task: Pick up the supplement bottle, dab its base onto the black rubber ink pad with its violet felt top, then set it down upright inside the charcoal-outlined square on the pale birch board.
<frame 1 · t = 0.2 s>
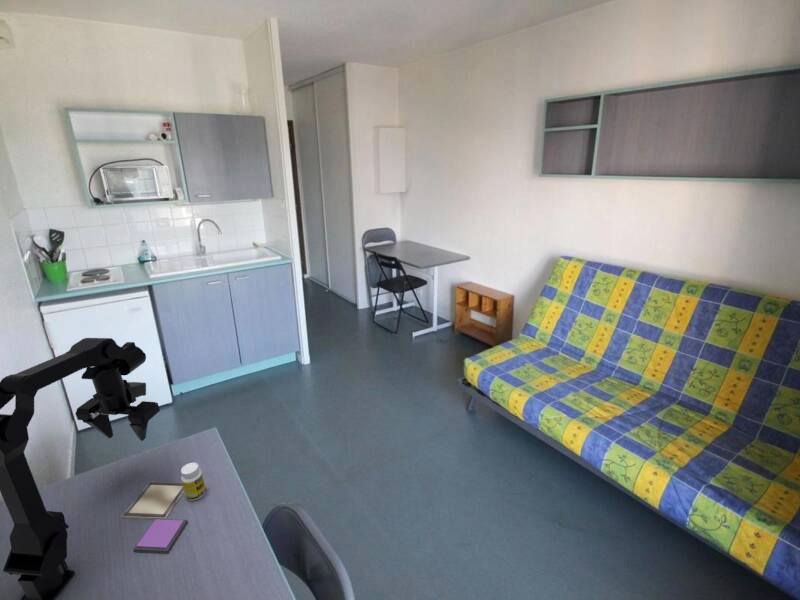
hand: (127, 438, 108), 14 cm above the table, fingers open, 9 cm apart
marked board: (157, 500, 107), on the table
ink pad: (161, 536, 97), on the table
supplement bottle: (196, 494, 109), on the table
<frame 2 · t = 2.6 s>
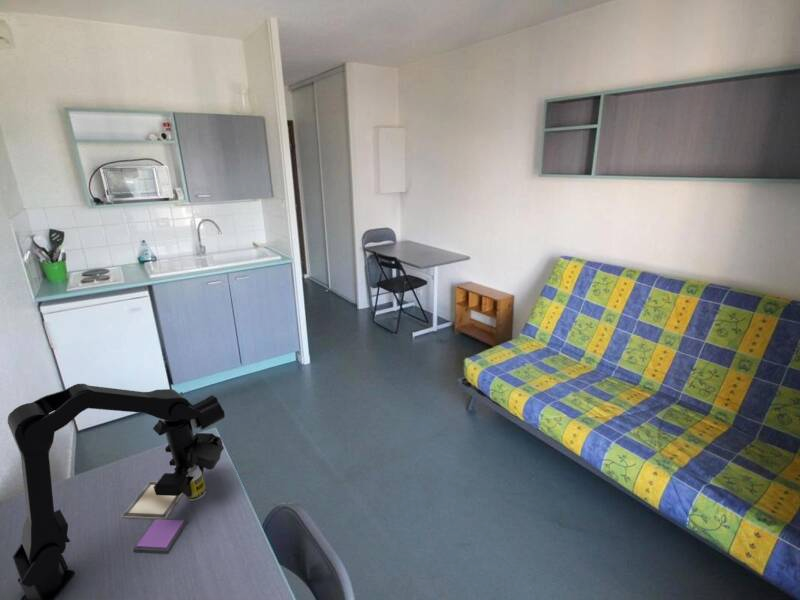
hand: (195, 488, 108), 2 cm above the table, fingers closed on supplement bottle, 5 cm apart
supplement bottle: (196, 494, 109), on the table, touching gripper
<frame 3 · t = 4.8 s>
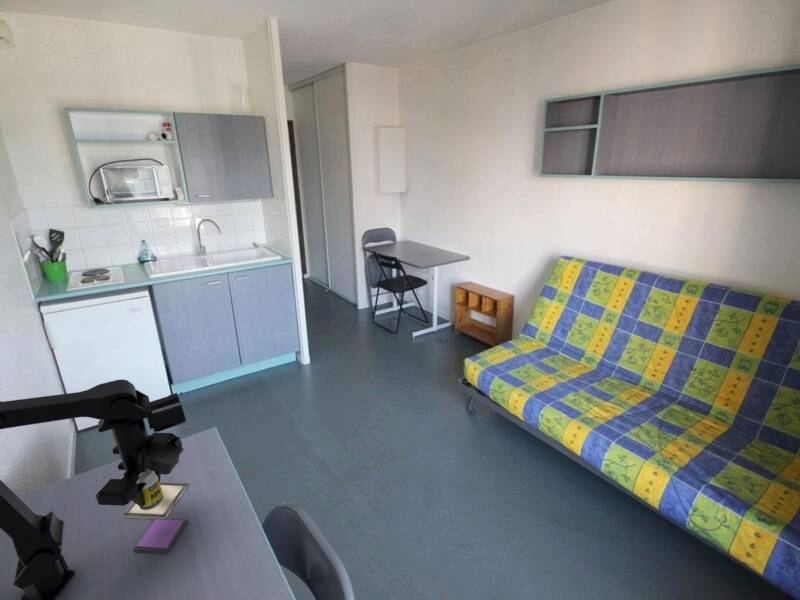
hand: (149, 496, 94), 12 cm above the table, fingers closed on supplement bottle, 5 cm apart
supplement bottle: (152, 503, 94), point 10 cm above the table, touching gripper
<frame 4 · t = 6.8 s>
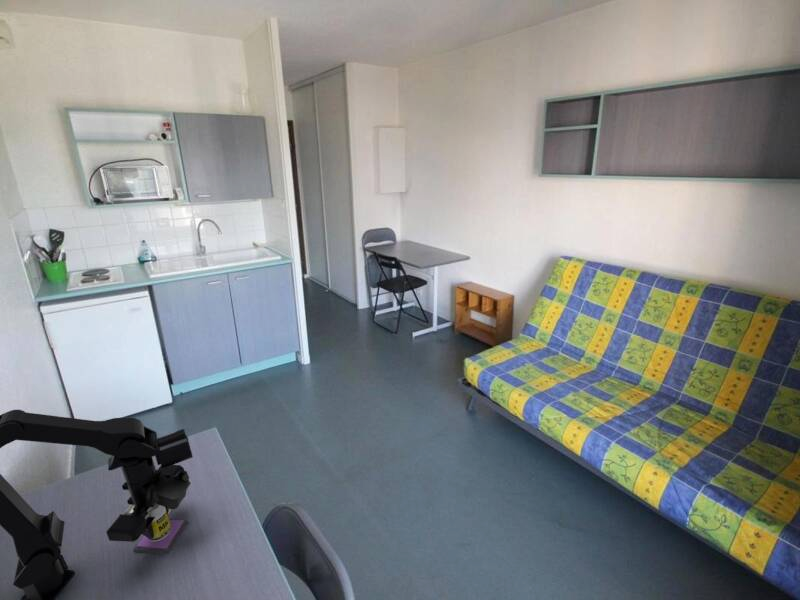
hand: (158, 527, 96), 3 cm above the table, fingers closed on supplement bottle, 5 cm apart
supplement bottle: (160, 533, 97), point 1 cm above the table, touching gripper, ink pad
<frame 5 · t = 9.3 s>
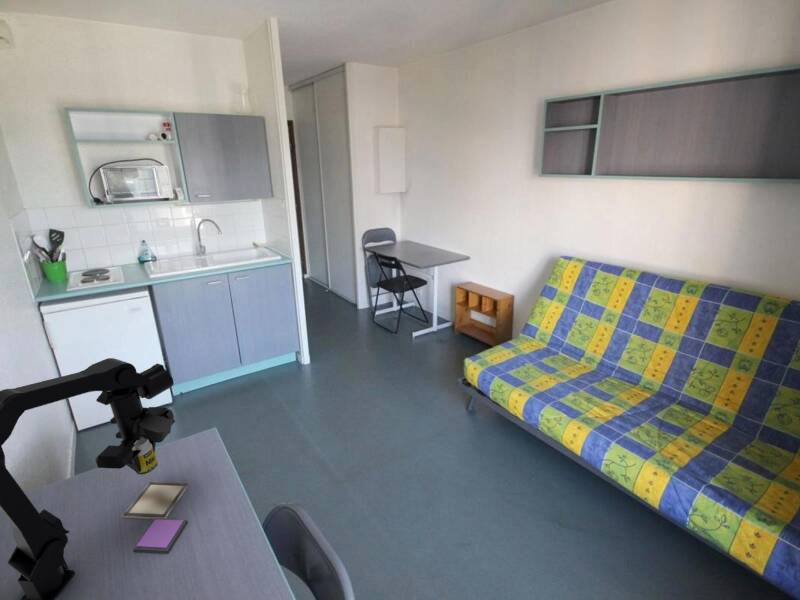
hand: (145, 463, 103), 12 cm above the table, fingers closed on supplement bottle, 5 cm apart
supplement bottle: (147, 469, 104), point 10 cm above the table, touching gripper
when the fingers open (3 cm above the table, at t = 11.2 s): supplement bottle stays where it is, resting on marked board.
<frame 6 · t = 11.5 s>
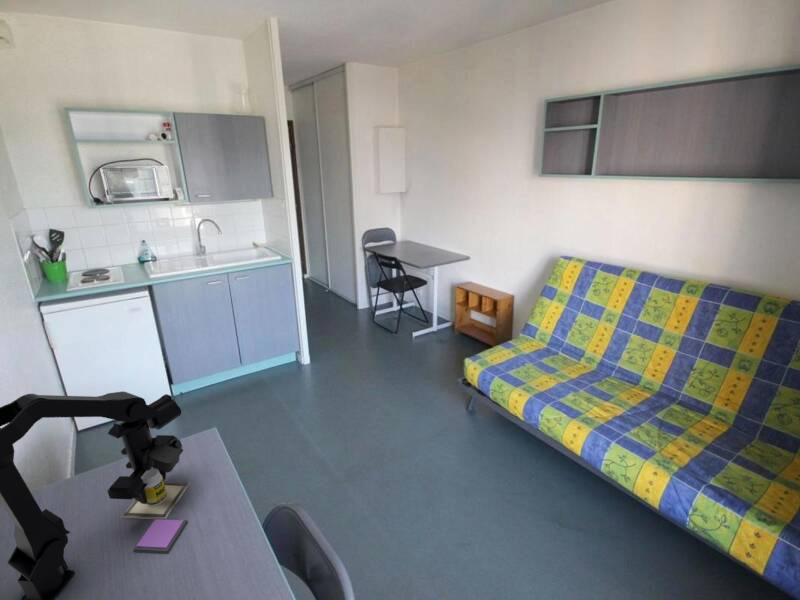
hand: (154, 491, 106), 3 cm above the table, fingers open, 7 cm apart
supplement bottle: (157, 499, 107), resting on marked board
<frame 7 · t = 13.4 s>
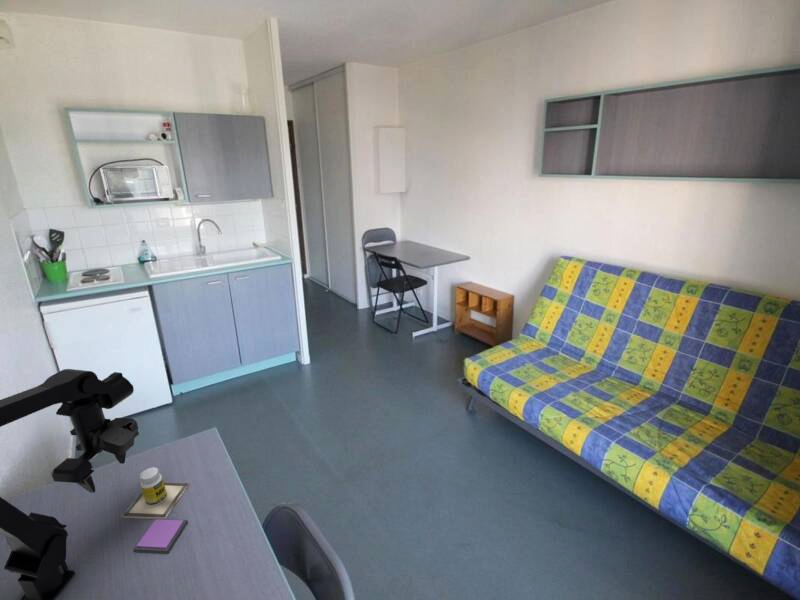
hand: (108, 477, 100), 12 cm above the table, fingers open, 9 cm apart
nothing on the table moved.
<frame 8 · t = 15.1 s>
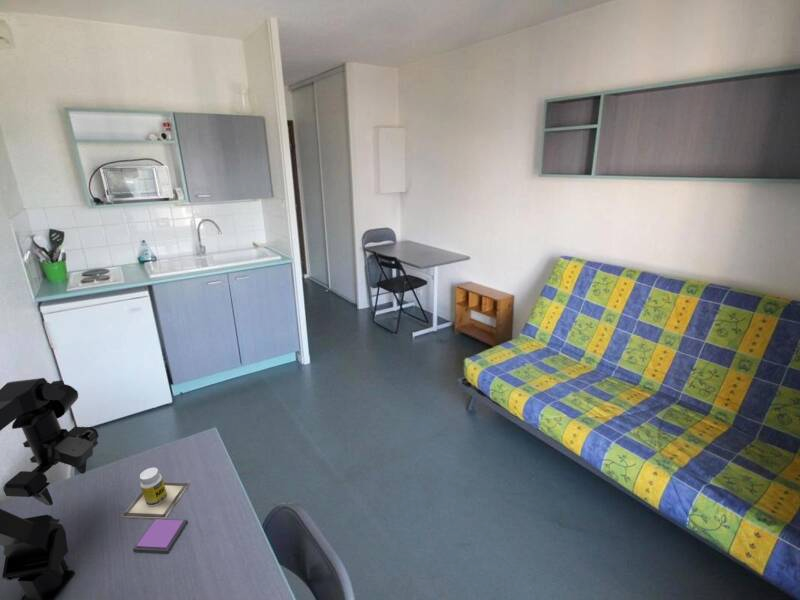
hand: (67, 488, 96), 12 cm above the table, fingers open, 9 cm apart
nothing on the table moved.
at the end: supplement bottle 0.1 cm off-centre on the marked board, point 0.2 cm above the marked board's base; supplement bottle tilted 0°; the gripper is holding nothing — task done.
